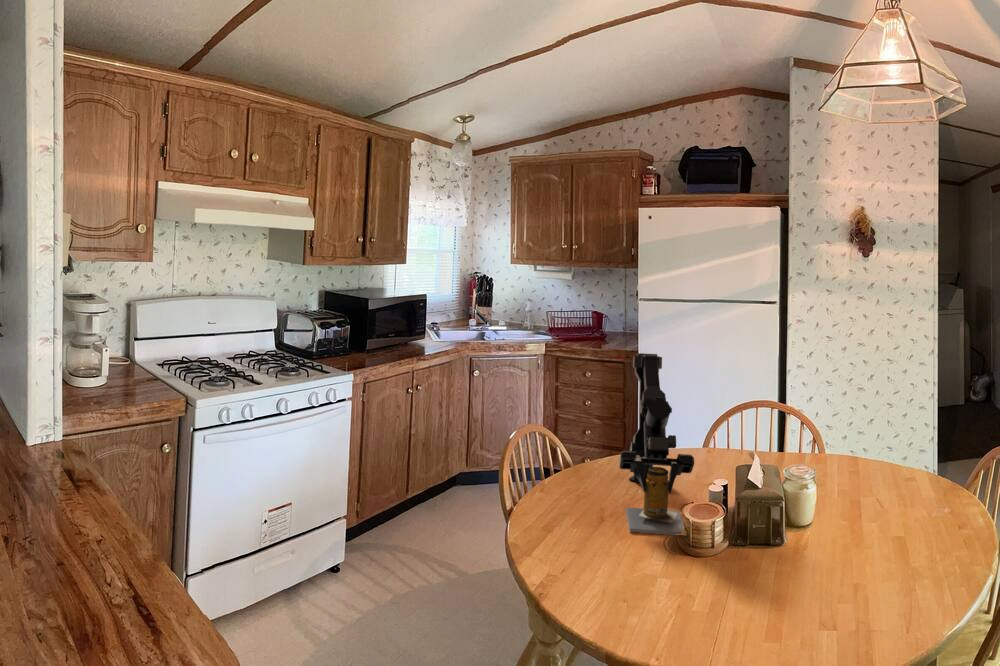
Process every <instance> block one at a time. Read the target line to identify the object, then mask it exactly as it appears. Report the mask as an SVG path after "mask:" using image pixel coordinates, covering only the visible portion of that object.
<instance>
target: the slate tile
mask: <svg viewBox="0 0 1000 666" xmlns="http://www.w3.org/2000/svg"><path fill="white" fill-rule="evenodd" d="M643 510H644V508H643V507H642V508H641V507H629V506H628V507H625V514H626V520H627V524H628V525H629V526H628V531H629V530H630V531H629V533H633V532H639V533H638V534H647V533H654V534H653V535H661V534H669V535H668V536H675V534H681V533H682V531H683V523H684V520H683V518H682V515H681V513H680V511H679V510H669V509H667V511H671V512H676V513H677V515H676V517H675V518H674V520H673V521H672V522H669V521H662V520H658V519H652V518H646V517H642V516H639V514H640V513H641V512H642V511H643Z"/></svg>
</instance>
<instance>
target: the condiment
mask: <svg viewBox="0 0 1000 666" xmlns="http://www.w3.org/2000/svg"><path fill="white" fill-rule="evenodd" d="M645 482H646V492H644V495H643V507H642V508H643V509H644V510H643V511H642V512H641V513H640V514H639V516H642V517H646V518H652V519H658V520H662V521H669V522H672V521H673V520H674V518H675V517H676V515H677V513H676V512H671V511H667V510H668V505H669V470H667V468H664V467H661V466H653V467H650V468H649V469H648V470H647V478H646V479H645Z"/></svg>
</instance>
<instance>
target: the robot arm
mask: <svg viewBox="0 0 1000 666" xmlns="http://www.w3.org/2000/svg"><path fill="white" fill-rule="evenodd" d="M632 368H634V375H635V376H636V379H637V380H638V382H639V387H638V389H639V391H638V393H639V396H638V397H639V398H638V399H639V400H638V429H637V431H636V433H635V434H634V435H633V437H632V439H633V440H632V441H631V443H630V449H629V450H622V451H621V452H620V455H619V469H621V470H628V471H629V472H630V473H633V475H632V476H630V477H629V478H628V481H632V482H636V483H639V484H640V486H641V489H642V491H643V492H644V493H645V492H646V482H645V479H646V478H647V470H648V469H649V468H650V467H654V466H664V467H665V466H668V467H670V468H669V469H670V470H669V472H668V481H669V492H668V495H669V494H671V493H672V490H673V487H674V484H675V479H676V478H677V476H681V475H682V474H690V473H692V471H693V469H694V465H695V457H694V456H693V454H685V453H684V454H682V453H678V454H677V456H676V458H671V457H670V458H668V456H669V455H670V449H676V448H677V436H676V435H674V434H673V435H671V434H670V435H668V436H667V434H666V428H667V425H668V423H669V422H668V421H669V418H670V415H671V414H672V412H673V407H672V406H671V405H670V404H669V403H670V402H669V401H667V397H666V394H665V392H664V391H663V390H661V387H660V386H661V385H660V384H661V383H660V370H661V369H663V356H659V355H658V354H657V353H640V352H638V353H637V354H636V355H634V356H633V357H632Z"/></svg>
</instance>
